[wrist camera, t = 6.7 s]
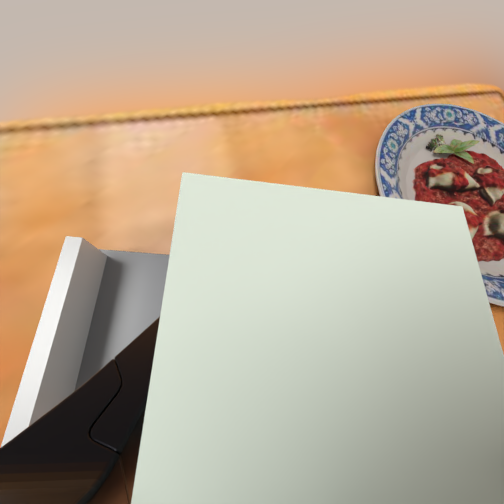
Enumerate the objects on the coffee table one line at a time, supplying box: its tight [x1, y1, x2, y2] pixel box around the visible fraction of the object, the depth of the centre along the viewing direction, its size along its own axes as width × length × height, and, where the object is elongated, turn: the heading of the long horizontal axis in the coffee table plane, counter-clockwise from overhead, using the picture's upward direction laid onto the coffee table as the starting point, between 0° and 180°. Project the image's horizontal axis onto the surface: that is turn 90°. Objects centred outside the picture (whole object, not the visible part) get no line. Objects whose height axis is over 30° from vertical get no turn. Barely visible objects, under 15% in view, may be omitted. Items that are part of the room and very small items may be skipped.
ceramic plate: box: [375, 104, 504, 306], centre depth 28 cm, size 26×26×3 cm
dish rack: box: [1, 236, 170, 447], centre depth 18 cm, size 13×24×5 cm, turn 88°
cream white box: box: [131, 172, 504, 504], centre depth 9 cm, size 4×5×13 cm
